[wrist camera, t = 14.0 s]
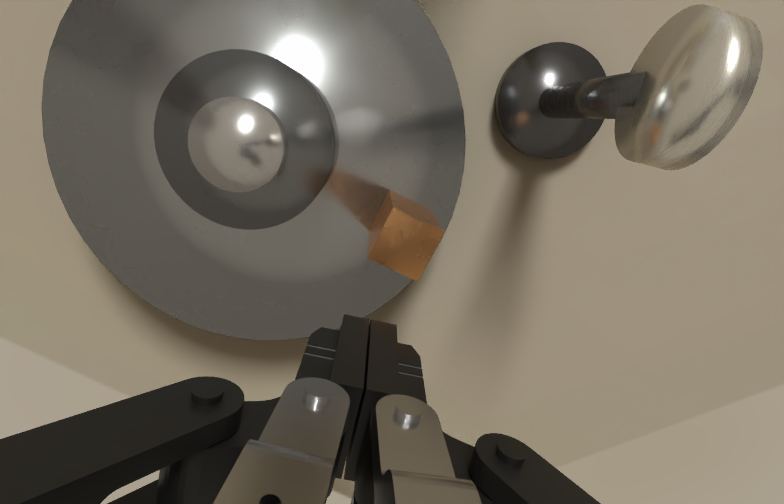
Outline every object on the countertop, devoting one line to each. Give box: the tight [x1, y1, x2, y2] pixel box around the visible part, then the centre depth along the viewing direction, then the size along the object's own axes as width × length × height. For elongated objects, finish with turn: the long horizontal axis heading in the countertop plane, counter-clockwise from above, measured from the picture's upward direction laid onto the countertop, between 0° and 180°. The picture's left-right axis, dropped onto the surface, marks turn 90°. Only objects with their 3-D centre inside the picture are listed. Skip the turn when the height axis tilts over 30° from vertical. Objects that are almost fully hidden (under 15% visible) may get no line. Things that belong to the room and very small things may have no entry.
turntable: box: [42, 0, 466, 340], centre depth 18 cm, size 17×17×6 cm
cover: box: [154, 49, 339, 230], centre depth 17 cm, size 6×6×4 cm
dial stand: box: [495, 4, 763, 170], centre depth 16 cm, size 5×5×12 cm
